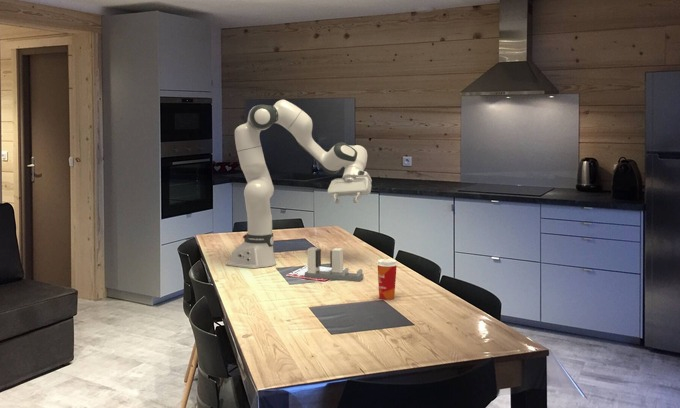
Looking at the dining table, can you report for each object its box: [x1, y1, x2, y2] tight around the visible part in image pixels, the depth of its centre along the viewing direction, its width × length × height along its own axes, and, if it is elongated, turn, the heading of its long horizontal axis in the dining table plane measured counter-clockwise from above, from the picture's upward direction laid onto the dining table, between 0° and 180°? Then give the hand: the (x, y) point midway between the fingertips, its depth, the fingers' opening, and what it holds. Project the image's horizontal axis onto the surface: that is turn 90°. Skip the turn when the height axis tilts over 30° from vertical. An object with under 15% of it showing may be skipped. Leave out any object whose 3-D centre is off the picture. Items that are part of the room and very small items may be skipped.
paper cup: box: [376, 258, 398, 301], centre depth 247 cm, size 8×8×14 cm
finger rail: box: [304, 246, 364, 282], centre depth 278 cm, size 24×5×12 cm, turn 73°
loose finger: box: [329, 247, 344, 273], centre depth 289 cm, size 4×5×10 cm
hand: (345, 202), depth 296 cm, fingers open, 8 cm apart
